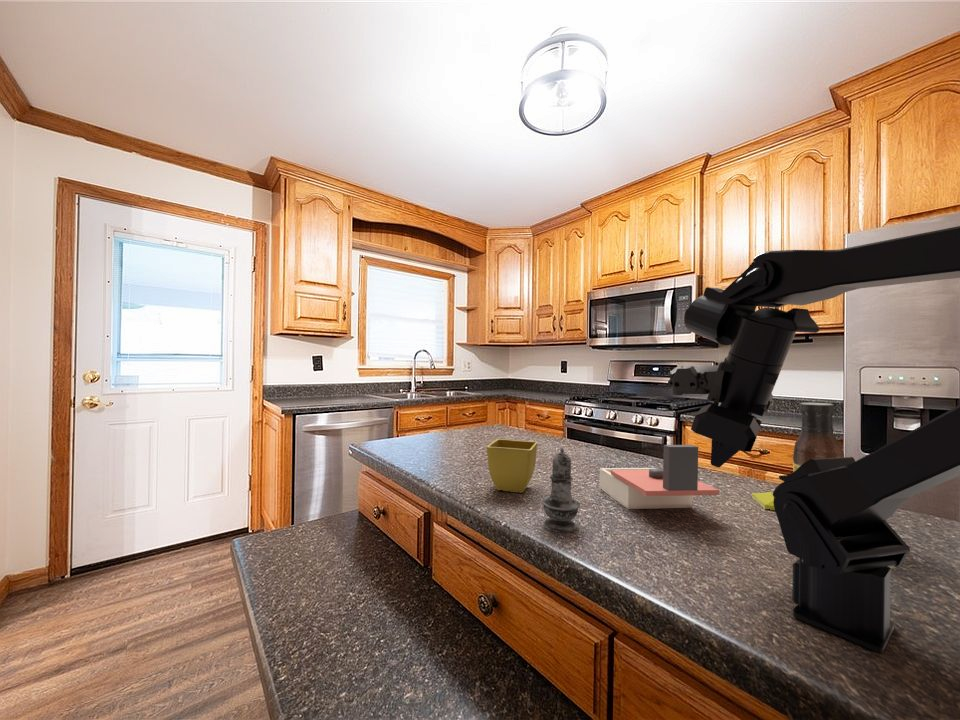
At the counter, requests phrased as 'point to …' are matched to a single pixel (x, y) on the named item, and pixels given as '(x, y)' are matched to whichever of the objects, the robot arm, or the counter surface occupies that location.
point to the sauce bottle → (816, 435)
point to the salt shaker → (561, 497)
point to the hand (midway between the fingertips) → (715, 465)
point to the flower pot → (511, 463)
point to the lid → (669, 475)
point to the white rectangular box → (638, 493)
